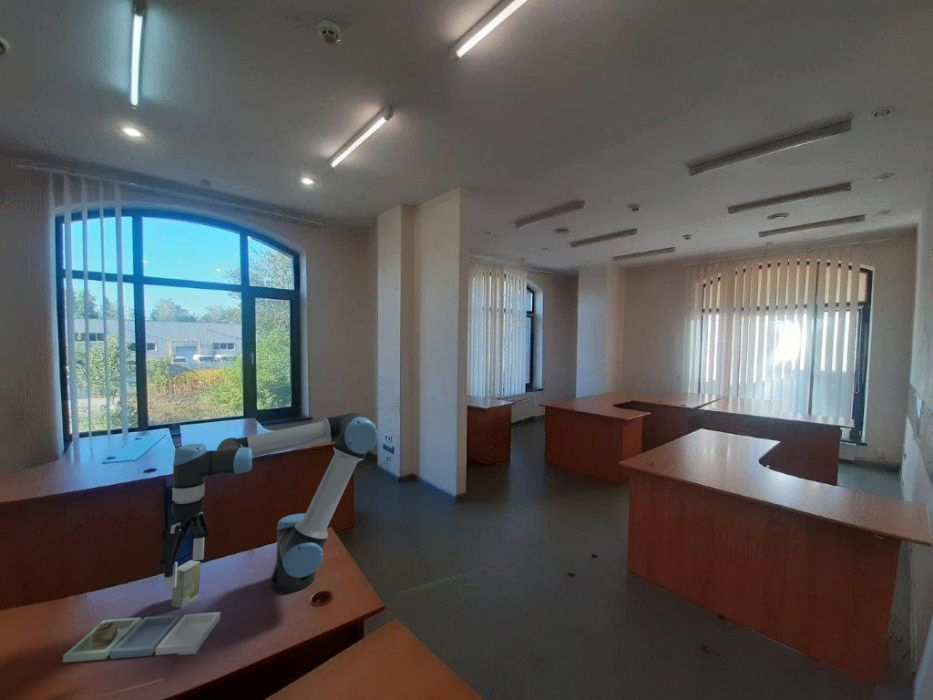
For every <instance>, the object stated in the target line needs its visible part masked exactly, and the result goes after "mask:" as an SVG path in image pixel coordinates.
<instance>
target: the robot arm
mask: <svg viewBox="0 0 933 700" xmlns="http://www.w3.org/2000/svg"><path fill="white" fill-rule="evenodd" d="M378 439H379V431H378V428H377V426H376V425H375V423H374V422H373V421H371V419H369V418H368V417H364V416H362V415H361V414H359V413H356V412H349V413H347V412H346V413H344V414H343V413H342V414H338V415H334V416H330V417H324V419H323V420H322V421H318V422H317V421H316V422H313V423H308V424H302V425H297V426H294V427H287V428H283V429H279V430H273V431H269V432H263V433H258V434H254V435H248V436H244V437H239V438H237V437H232V436H231V437H227V438H225V439H223V440H222V441H220V443H219V444H218V446H217V448H216V449H215V450H213V449H212V450H208V449H207V446H206V444H204V443H191V444H184V445H181V446H178V447H177V448H176V449H175V450H174V457H173V458H174V459H173V464H172V467H173V469H172V470H173V471H172V488H171V491H172V496H171V497H172V499H171V500H172V503H171V516H172V517H175V518H176V521H175V523H174V524H172V525H171V524H170V525H168V527H167V534H166V537H165V541H164V544H163V548H162V552H161V555H160V558H159V562H158V564H157V565H158V567H160V568H161V567H164V570H163V571H164V573H163V589H173V588H175V587H176V582H177V567H178V561H177V559H178V556H179V553H180V551H181V548H182V546H183V543H184V541H185V538H187V537H188V536H189V533H190V532H192V534H193V535H194V536H195V537H194V538H193V543H192V546H193V547H192V548H193V549H192V560H194V561H201V560H204V556H205V537H209V535H210V531H209V530H210V526H209V523H208V519H207V515H206V512H205V511H206V510H205V497H204V496H205V491H206V484H205V483H206V482H205V481H206V478H208V477H215V476H226V475H236V474H237V475H239V474H243V473H248V472H250V471H251V470H252V467H253V459H254V458H257V457H261V456H266V455H271V454H275V453H279V452H284V451H287V450H289V451H290V450H292V449H297V448H301V447H305V446H311V445H315V444H319V443H324V442H325V443H328V444H333V443H334V444H333V447H332V448H333V450H334V451H333V452H334V454H333V456H332V459H331V460H330V463H329V465H328V466H327V469H326V471H325V473H324V475H323V477H322V479H321V481H320V484H319V485H318V487H317V490H316V492H315V493H314V495H313V497H312V499H311V501H310V504H309V506H308V508H307V510H306V512H305V513H303V512H302V513H294V514H289V515H287V516H284V517H282V518H280V520H278V522H277V527H276V530H277V531H276V532H277V534H276V535H277V537H276V562H275V565H274V568H273V570H272V573H271V577H270V581H269V583H270V585H269V586H270V588H271V590H273V592H276V593H280V594H281V593H282V594H286V593H288V594H289V593H294V592H299V591H300V590H303V589H305V588H307V587H308V586H310V585H311V584H312V583H314V581H313V580H315V579H316V577H317V570H318V568H319V567H320V566H321V564H322V562H323V559H324V551H323V548H324V546H325V544H326V541H327V539H328V537H329V532H328V530H327V529H328V527H329V524H330V522H331V520H332V519H333V516H334V513H335V512H336V509H337V507H338V506H339V505H338V504H339V503H340V500H341V499H342V497H343V494H344V491H345V490H346V488H347V485H348V484H349V481H350V479H351V477H352V476H353V473H354V470H355V468H356V467H357V464H358V463H359V462H361V461H363V460H364V459H365V456H366V455H367V453H368V452H370V451H372V450H373V448H375V446H376V445H377V442H378ZM315 576H316V577H315Z"/></svg>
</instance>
